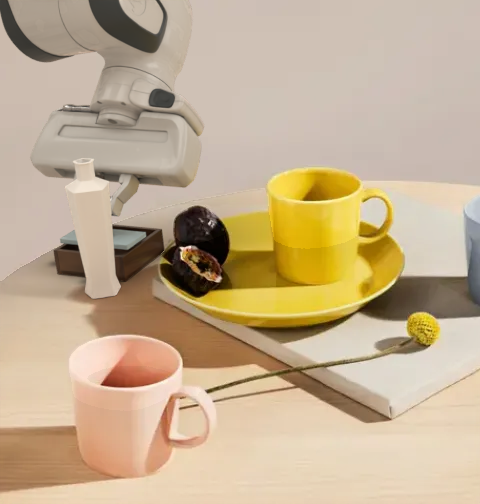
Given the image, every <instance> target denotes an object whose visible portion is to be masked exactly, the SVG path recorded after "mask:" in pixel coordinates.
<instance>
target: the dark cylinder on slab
mask: <svg viewBox="0 0 480 504" xmlns="http://www.w3.org/2000/svg"><path fill="white" fill-rule="evenodd" d="M95 177H98V178H101V179H104V180H105V177H104V176H103V175H95ZM145 237H146V232H139V231H128V230H118V229H113V244H114V249H124V250H128V249H130V248H131V247H132V246H134V245H135V244H137V243H138V242H139V241H141V240H142V239H144V238H145ZM59 242H60V244H74V245H78V242H77V238H76V233H75V229H73V230H71V231H70V232H68V233H67V234H65V235H63V236H62V237H60V238H59Z"/></svg>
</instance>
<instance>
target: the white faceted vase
mask: <svg viewBox="0 0 480 504" xmlns="http://www.w3.org/2000/svg"><path fill="white" fill-rule="evenodd" d="M93 161H94V159H91V158H81V159H78V160H75V161H73V163H74V165H75V171H76V177H77V179H76V180H74V179H73V181H71V182H69V183H68V184H66V185H65V186H64V191H65V196H66V200H67V205H68V208H69V212H70V217H71V221H72V224H73V230H75V233H76V238H77V242H78V246H79V250H80V254H81V259H82V263H83V267H84V271H85V275H86V277H85V286H84V293H85V294H86V295H87V296H88V297H90V298H91V299H92V300H96V299H97V300H98V299H103V298H110V297H115V296H116V295H118V293H119V291H120V289H121V287H122V286H121V284H120V281H118V279H117V277H116V273H115V258H114V244H113V229H112V224H113V218H112V217H113V216H112V215H111V200H110V196H111V189H110V182H109V181H107V180H104V179H101V178H98V177H95V172H94V165H93Z"/></svg>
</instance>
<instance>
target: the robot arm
mask: <svg viewBox="0 0 480 504" xmlns="http://www.w3.org/2000/svg"><path fill="white" fill-rule="evenodd" d="M0 18H1V22H2V26H3V29H4V32H5V33H6V35H7V37H8V38H9V40H10V41H11V43H12V44H13V45H14V46H15V48H17V49H18V50H19V52H20V53H22V54H23V55H24V56H26V57H27V58H29V59H31V60H33V61H35V62H39V63H53V62H57V61H60V60H64V59H67V58H72V57H74V56H77V55H85V54H91V53H96V54H98V55H99V56H101V57H102V58H103V60H104V66H103V68H102V69H101V72H100V75H99V78H98V82H97V84H96V86H95V87H96V88H95V90H94V93H93V95H92V97H91V102H90V103H89V104H79V105H77V104H74V103H73V104H72V103H66V104H63V105H62V106H61V107H58V108H57V109H55V110H53V111H52V112H51V113H50V114H49V117H48V119H47V121H46V123H45V124H44V126H43V128H42V129H41V131H40V133H39V135H38V136H37V139H36V141H35V143H34V146H33V148H32V150H31V153H30V157H29V158H30V161H31V164H32V166H33V167H34V168H35V169H36V170H37V171H38V172H40V173H41V174H42V175H43V176H45V177H47V178H54V179H55V178H56V179H57V178H58V179H67V180H73V181H74V180H76V179H77V177H76V171H75V165H74V163H73V161H75V160H78V159H81V158H91V159H94V161H93V165H94V172H95V175H103V176H104V177H105V180H107V181H109V183H119V184H120V186H119V187H118V188H117V189H116V191H115V192H114V193H113V194H112V195H110V200H111V215H112V217H120V216H121V214H122V211H123V208H124V205H125V204H126V203H128V201H129V200H130V199H131V198H133V197H134V195H136V193H138V190H139V187H140V185H148V186H158V187H172V188H183V189H184V188H185V189H186V188H187V187H188V186H190V185H191V184H192V183H193V182H194V181H195V180H196V176H197V173H198V169H199V166H200V160H201V155H202V140H201V138H200V136H202V134H203V132H204V128H205V123H204V120H203V119H202V117H201V116H200V113H198V112H197V110H196V109H195V108H194V106H193V105H192V104H191V103H190V101H188V100H187V99H186V98H185V97H184V96H183V95H182V94H180V93H178V92H176V91H175V83H176V80H177V78H178V76H179V75H180V74H181V72H182V70H183V67H184V66H185V62H186V58H187V55H188V51H189V47H190V43H191V37H192V32H193V9H192V4H191V3H190V0H0Z"/></svg>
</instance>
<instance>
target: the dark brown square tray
mask: <svg viewBox="0 0 480 504" xmlns="http://www.w3.org/2000/svg"><path fill="white" fill-rule="evenodd" d="M112 229H118V230H128V231H139V232H146V237H145V238H144V239H142V240H141V241H139V242H138V243H137V244H135V245H134V246H132V247H131V248H130V249H128V250H124V249H114V258H115V273H116V277H117V279H118V281H119V282H127V281H129V280H130V279H131V278H132V277H134V276H135V275H136V274H138V273H139V272H141V271H142V270H143V269H144V268H145V267H147V266H148V265H149V264H151V262H153V261H155V260H156V259H157V258H159V257H160V256H161V255H162V254H163V253H162V252H163V251H164V250H165V243H164V242H165V241H164V235H163V228H157V227H146V226H145V227H144V226H135V225H134V226H133V225H123V224H113V223H112ZM52 251H53V257H54V262H55V269H56V274H57V275H62V276H63V275H64V276H72V277H73V276H74V277H82V278H86V275H85V271H84V267H83V263H82V259H81V254H80V250H79V246H78V245H74V244H64V243H61V245H59V246H57V247H56V248H55V249H52ZM161 253H162V254H161Z"/></svg>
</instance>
